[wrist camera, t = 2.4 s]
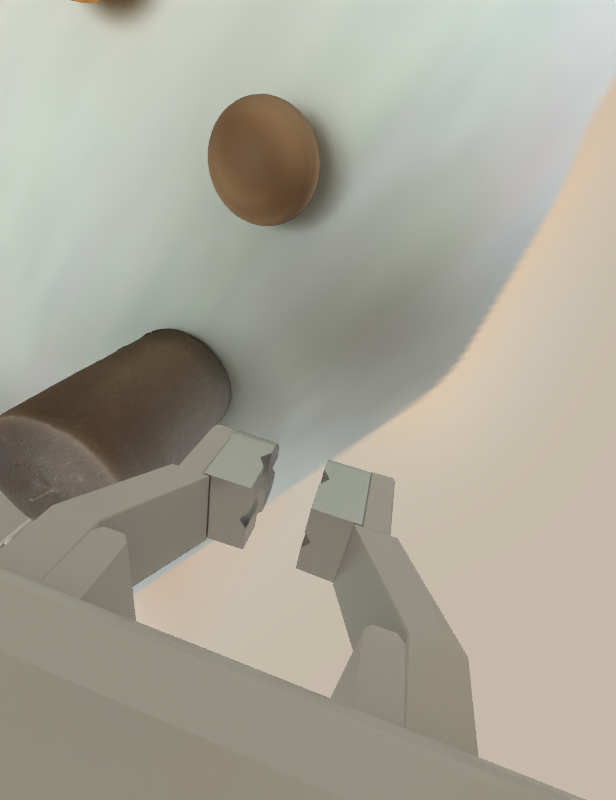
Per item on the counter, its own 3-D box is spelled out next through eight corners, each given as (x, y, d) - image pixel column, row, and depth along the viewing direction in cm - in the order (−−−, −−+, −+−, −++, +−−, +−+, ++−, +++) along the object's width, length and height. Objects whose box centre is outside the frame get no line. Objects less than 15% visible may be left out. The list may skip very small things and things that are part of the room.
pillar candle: (113, 337, 32) (-82, 435, 20) (209, 318, 29) (47, 421, 16) (160, 431, 37) (22, 561, 24) (248, 424, 33) (143, 570, 21)
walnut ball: (282, 242, 25) (246, 255, 20) (218, 166, 24) (163, 158, 19) (351, 170, 22) (330, 163, 17) (282, 78, 21) (237, 41, 16)
